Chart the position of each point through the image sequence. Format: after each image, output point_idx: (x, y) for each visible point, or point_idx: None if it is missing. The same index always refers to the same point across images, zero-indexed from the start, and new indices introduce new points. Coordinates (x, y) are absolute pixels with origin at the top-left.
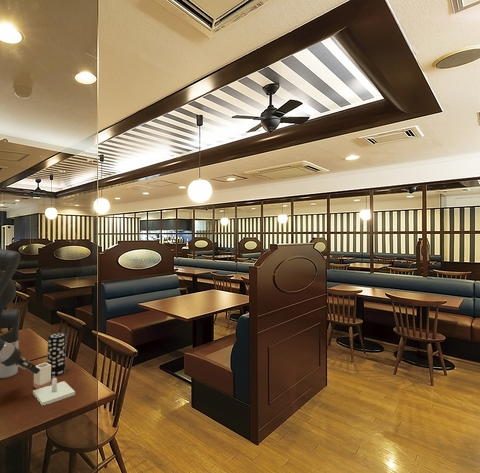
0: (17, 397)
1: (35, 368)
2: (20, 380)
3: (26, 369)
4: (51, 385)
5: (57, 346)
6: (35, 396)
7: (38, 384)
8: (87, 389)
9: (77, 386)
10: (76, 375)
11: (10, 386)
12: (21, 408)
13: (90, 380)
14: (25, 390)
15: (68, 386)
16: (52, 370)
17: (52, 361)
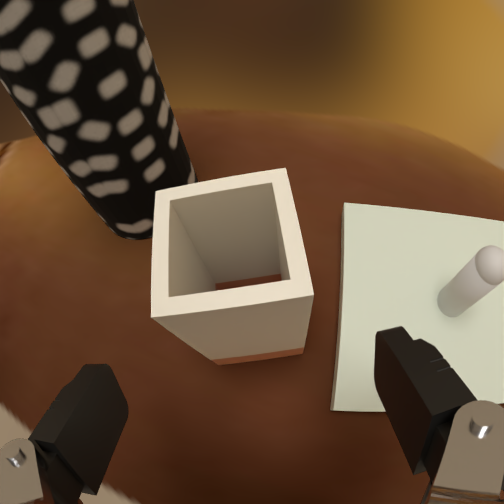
0: (293, 496)
1: (465, 394)
2: (57, 364)
3: (126, 404)
4: (352, 282)
5: (111, 14)
6: None
7: (282, 350)
8: (478, 174)
9: (422, 185)
10: (276, 138)
11: None
12: None
13: (391, 126)
14: (224, 423)
15: (441, 218)
16: None
17: (131, 149)
